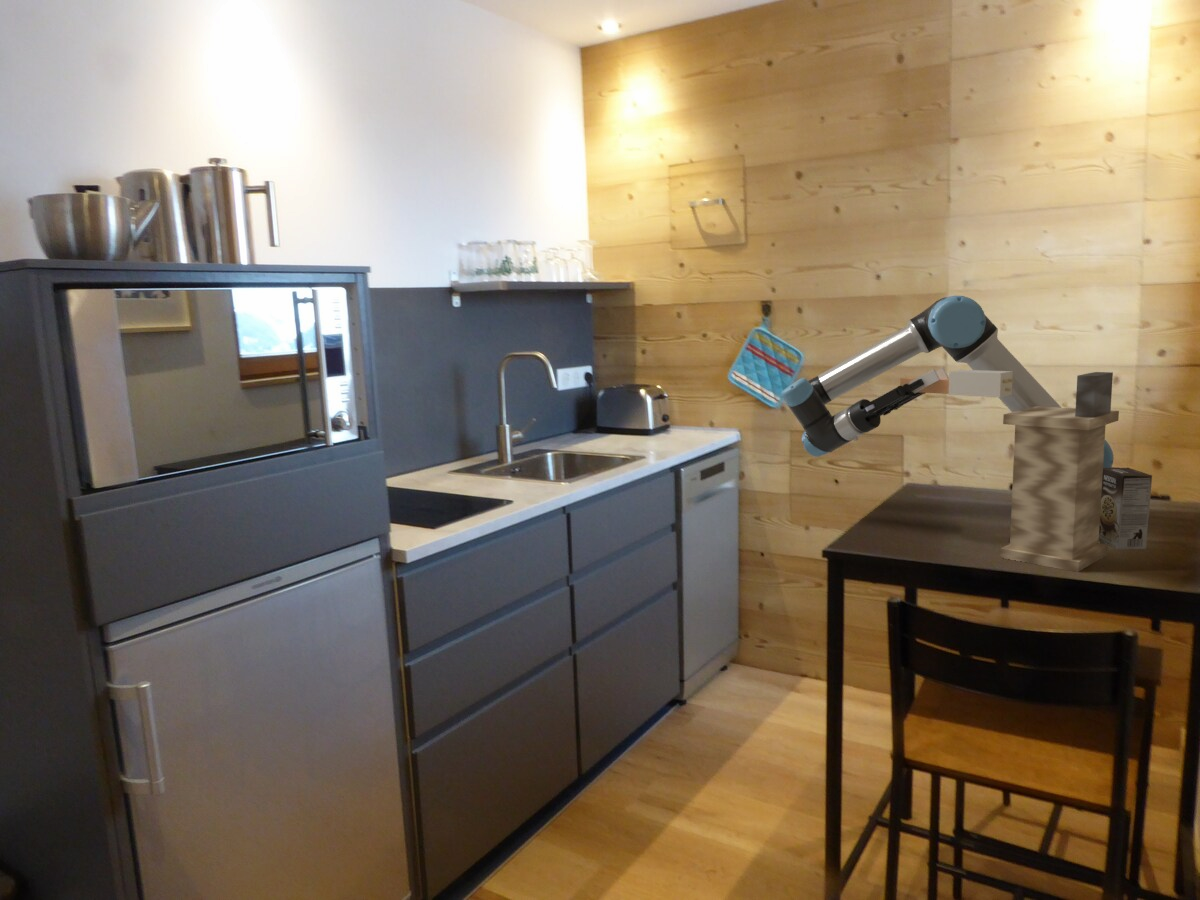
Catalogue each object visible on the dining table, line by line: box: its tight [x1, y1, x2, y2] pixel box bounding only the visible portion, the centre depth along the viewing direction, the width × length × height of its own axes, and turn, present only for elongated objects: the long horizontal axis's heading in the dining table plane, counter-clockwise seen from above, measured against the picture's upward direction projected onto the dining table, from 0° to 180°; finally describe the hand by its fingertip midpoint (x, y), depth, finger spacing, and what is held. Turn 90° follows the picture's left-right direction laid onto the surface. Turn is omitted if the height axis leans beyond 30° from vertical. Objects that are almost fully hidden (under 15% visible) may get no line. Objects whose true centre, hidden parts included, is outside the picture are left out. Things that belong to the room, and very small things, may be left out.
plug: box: [899, 369, 1014, 398], centre depth 192 cm, size 24×6×5 cm, turn 43°
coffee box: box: [1099, 466, 1153, 551], centre depth 187 cm, size 9×6×16 cm
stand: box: [999, 371, 1120, 573], centre depth 178 cm, size 16×17×38 cm
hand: (941, 373), depth 194 cm, fingers closed on plug, 4 cm apart
